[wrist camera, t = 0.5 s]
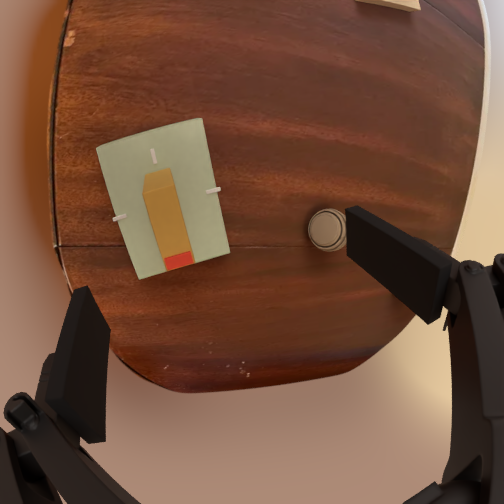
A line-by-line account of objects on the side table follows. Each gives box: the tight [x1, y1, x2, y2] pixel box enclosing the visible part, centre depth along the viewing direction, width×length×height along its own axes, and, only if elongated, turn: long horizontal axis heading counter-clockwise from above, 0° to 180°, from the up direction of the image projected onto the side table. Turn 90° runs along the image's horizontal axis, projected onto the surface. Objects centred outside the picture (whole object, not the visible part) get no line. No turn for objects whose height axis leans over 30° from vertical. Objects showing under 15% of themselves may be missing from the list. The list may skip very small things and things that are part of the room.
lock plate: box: [96, 118, 230, 279], centre depth 29 cm, size 14×11×3 cm
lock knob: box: [142, 168, 195, 271], centre depth 25 cm, size 6×2×7 cm, turn 10°
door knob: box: [308, 209, 346, 252], centre depth 36 cm, size 5×5×5 cm
